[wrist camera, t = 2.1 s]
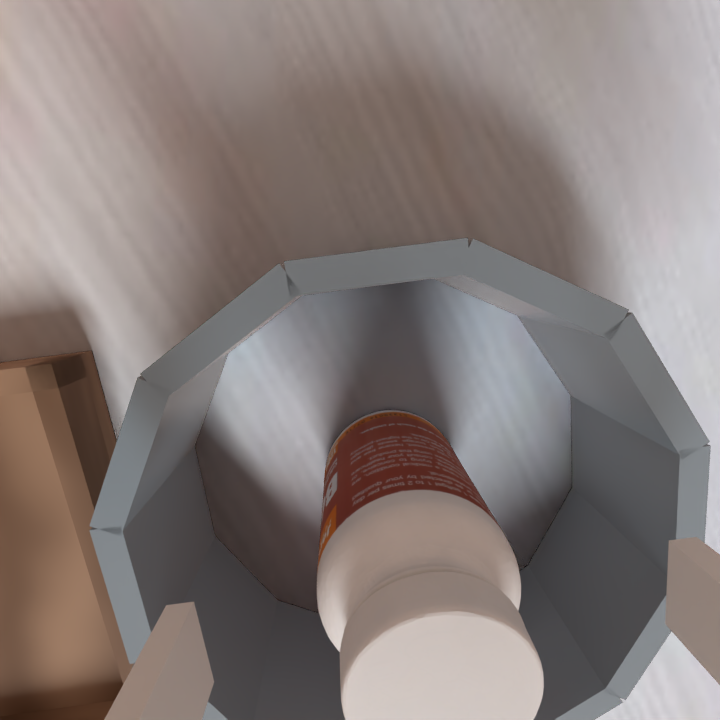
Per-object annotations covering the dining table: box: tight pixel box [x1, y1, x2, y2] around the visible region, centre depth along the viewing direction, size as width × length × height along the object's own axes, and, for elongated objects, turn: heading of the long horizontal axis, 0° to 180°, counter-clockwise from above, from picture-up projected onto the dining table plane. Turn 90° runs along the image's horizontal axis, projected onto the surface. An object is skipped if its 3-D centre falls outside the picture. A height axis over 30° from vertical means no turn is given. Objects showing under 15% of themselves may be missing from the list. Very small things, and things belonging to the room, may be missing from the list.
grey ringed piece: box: [89, 238, 711, 720], centre depth 17 cm, size 20×20×6 cm
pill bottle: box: [317, 410, 544, 720], centre depth 15 cm, size 6×6×11 cm
